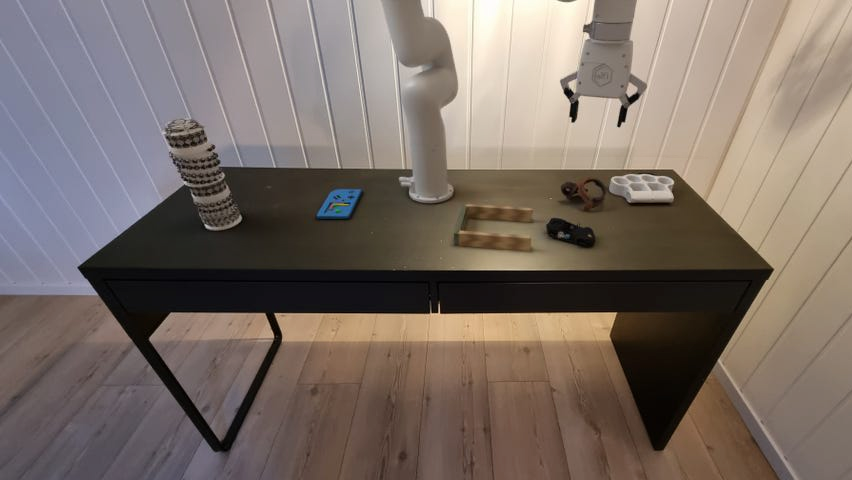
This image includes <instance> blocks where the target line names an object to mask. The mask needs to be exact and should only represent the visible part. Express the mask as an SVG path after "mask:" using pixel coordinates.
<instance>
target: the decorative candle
mask: <svg viewBox="0 0 852 480" xmlns="http://www.w3.org/2000/svg"><path fill="white" fill-rule="evenodd" d="M161 134H162V135H164V137H165V139H166V142H167V144H168V148H169V150H170V151H169V152H168V155H169V158H170V159H172V164H173V165H174V166H175V167H176V170H177V173H178V174H180V177H179V178H181V179H182V181H183V182H184V185H185V186H187V187H188V188H189V190H190V192H191V197H192V199H193V202H192V203H193V204H194V206H195V210H197V212H198V216H199V217H200V218H201V223H203V224H204V227H205V229H207V230H209V231H224V230H227V229H231V228H233V227H235V226H237V225H239V223H241V221H242V220H243V217H242V215H241V213H240V210H239V206H238V204H237V203H236V199H235V198H234V196H233V195H234V193H233V192H232V191H231V190H230V187H229V186H228V184H227V182H226V180H225V179H224V178H225V177H226V175H225V173H224V168H223V167H221V166H219V165H220V164H221V159H219V154H218V153H217V152H214V150H215V149H216V145H215V144H213V143H211V141H210V139H209V137H208V136H207V133H206V131H205V124H203V123H199V122H198V121H197V120H196V119H193V118H189V117H188V118H186V117H185V118H177V119H173V120H170V121H167V123H166V124H165V125H164V128H163V130H162V131H161Z"/></svg>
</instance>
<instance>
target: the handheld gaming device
mask: <svg viewBox="0 0 852 480" xmlns="http://www.w3.org/2000/svg"><path fill="white" fill-rule="evenodd" d="M361 195H362V189H358V188H356V189H355V188H354V189H353V188H351V189H350V188H349V189H347V188H346V189H345V188H344V189H343V188H342V189H341V188H339V189H334V190H332V191H331V192H329V194H328V196H327V197H326V199H325V200H324V202H323V204H322V206H320V209H319V210H318V212H317V214H316V218H317V219H319V220H348V219H350V217H351V216H352V214H353V211H354V209H355V207H356V206H357V203H358V201H359V199H360V197H361Z"/></svg>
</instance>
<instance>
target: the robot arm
mask: <svg viewBox="0 0 852 480" xmlns="http://www.w3.org/2000/svg"><path fill="white" fill-rule="evenodd" d="M557 1H558V2H561V3H573V2H576V1H577V0H557ZM380 2H381V6H382V9H383V14H384V18H385V21H386V26H387V29H388V32H389V36H390V40H391V44H392V47H393V50H394V53H395V56H396V58H397V60H398V62H399V63H400V65H402V66H404V67H406V68H409V69H413V68H418V67H420V68H421V71H420V72H418V73H415V74H413V75H411V76H410V77H409V78H408V79H406V80H405V82H404V83H403V85H402V88H401V91H400V99H401V105H402V108H403V111H404V116H405V119H406V125H407V131H408V133H407V134H408V141H409V149H410V151H409V152H410V159H411V170H412V171H411V172H412V176H410V177H406V176H399V178H398V182H399V184H400V187H401V188H409V189H408V195H409V197H410V198H411V199H412V200H413V201H416V202H418V203H422V204H437V203H442V202H445V201H447V200H449V199H451V198H452V197H453V196H454V187H453V186H452V184H451V183H449V182H448V181H449V179H448V156H447V136H446V135H447V134H446V126H445V122H444V119H443V117H442V113H441V110H442V109H443V108H444V107H447V106H448V105H449V104H450V103H452V102H453V101H454V100H455V99H456V97H457V96H458V91H459V80H458V79H459V78H458V73H457V68H456V64H455V59H454V54H453V49H452V44H451V39H450V36H449V33H448V31H447V30H446V28H445V26H444V25H443V24H442V22H440V20H438V19H437V18H435V17H432V16H425V13H424V10H423V5H422V0H380ZM637 2H638V0H594V3H593V9H592V17H591V21H590V23H587V24H583V27H582V33H586V34H587V35H588V38H587V39H585V40H584V42H583V46H582V50H581V54H580V58H579V64H578V69H577V70H576V71H573V72H572V73H570V74H567V75H565V76H563V77H562V78H560V80H559V84H560V86H561V88H562V89H561V90H562V91H563V95H564V96H565V97H566V98H567V100H568V102H569V103H570V106H569V114H568V117H569V118H571V119H570V120H571V121H570V123H573V124H574V123H576V121H577V119H578V113H579V106H580V101H579V98H580V97H581V96H582V97H589V98H599V99H600V98H601V99H615V100H617V99H618V100H619V101H620V103H621V105H620V108H619V112H618V118H617V123H616V127H617V128H621V127H622V123H626V120H627V114H628V109H629V108H630V106H632V105H633V104H634V103H636V102H637V101H638V100H639V99H640V98H641V96H642V95H643V94H644V92H646V90H647V88H648V84H647V83H646V82H645V81H643V80H642V79H641V78H638V77H637V76H636V75H635V74H633V73H632V66H633V55H634V41H633V40H632V39H631V35H632V30H633V25H634V19H635V14H636V8H637ZM574 80H576V82H575V92H574V91H573V89H572V88H571V87H570V84H569V83H570V82H573V81H574ZM630 84H631V85H633V86H634V87H636V88H637V90H636V91H635V92H634V93H632V95H630V96H629V95H628V89H629V85H630Z"/></svg>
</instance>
